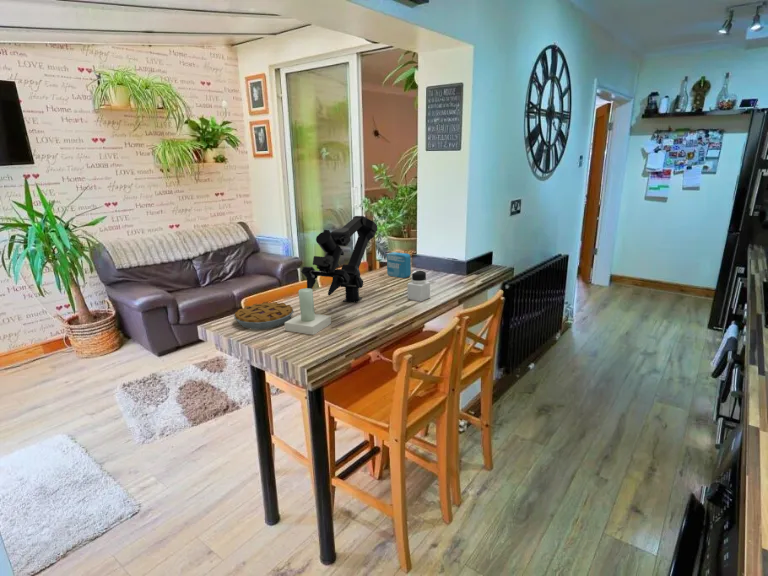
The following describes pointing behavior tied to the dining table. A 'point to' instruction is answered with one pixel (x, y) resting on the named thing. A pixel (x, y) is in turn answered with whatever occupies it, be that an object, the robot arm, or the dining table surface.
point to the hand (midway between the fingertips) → (318, 293)
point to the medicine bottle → (418, 287)
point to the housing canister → (306, 304)
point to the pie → (264, 315)
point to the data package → (398, 265)
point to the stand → (308, 324)
